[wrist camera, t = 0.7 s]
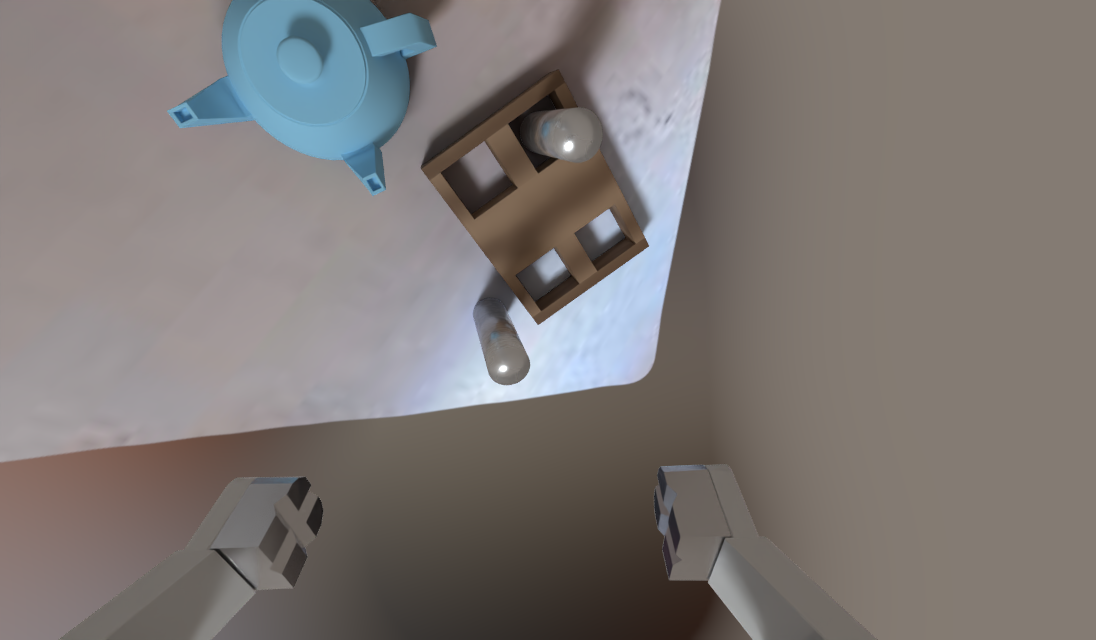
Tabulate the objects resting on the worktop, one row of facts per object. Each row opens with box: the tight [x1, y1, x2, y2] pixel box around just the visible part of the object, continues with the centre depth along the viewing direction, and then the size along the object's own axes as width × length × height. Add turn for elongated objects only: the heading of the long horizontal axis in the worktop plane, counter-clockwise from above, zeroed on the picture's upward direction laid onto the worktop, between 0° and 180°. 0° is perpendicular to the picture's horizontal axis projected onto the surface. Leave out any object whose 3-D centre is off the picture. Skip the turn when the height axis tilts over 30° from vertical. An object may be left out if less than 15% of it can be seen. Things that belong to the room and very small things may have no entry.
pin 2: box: [520, 107, 603, 163], centre depth 40 cm, size 4×4×13 cm
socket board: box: [421, 69, 649, 325], centre depth 47 cm, size 21×16×3 cm
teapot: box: [167, 0, 437, 196], centre depth 34 cm, size 15×15×11 cm
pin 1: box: [473, 298, 530, 385], centre depth 46 cm, size 4×4×13 cm
